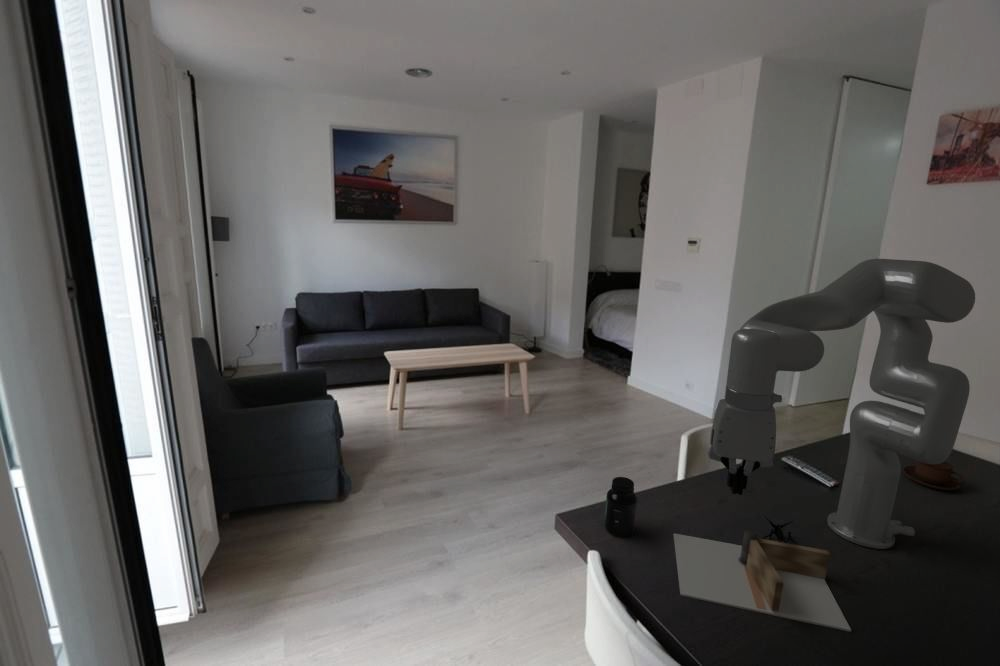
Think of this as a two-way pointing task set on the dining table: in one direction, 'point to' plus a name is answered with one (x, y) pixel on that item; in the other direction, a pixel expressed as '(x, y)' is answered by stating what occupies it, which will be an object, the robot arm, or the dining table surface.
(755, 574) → the gate panel
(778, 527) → the creature
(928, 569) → the dining table surface
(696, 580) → the card
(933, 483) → the cup and saucer
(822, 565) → the fence
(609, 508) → the supplement bottle
